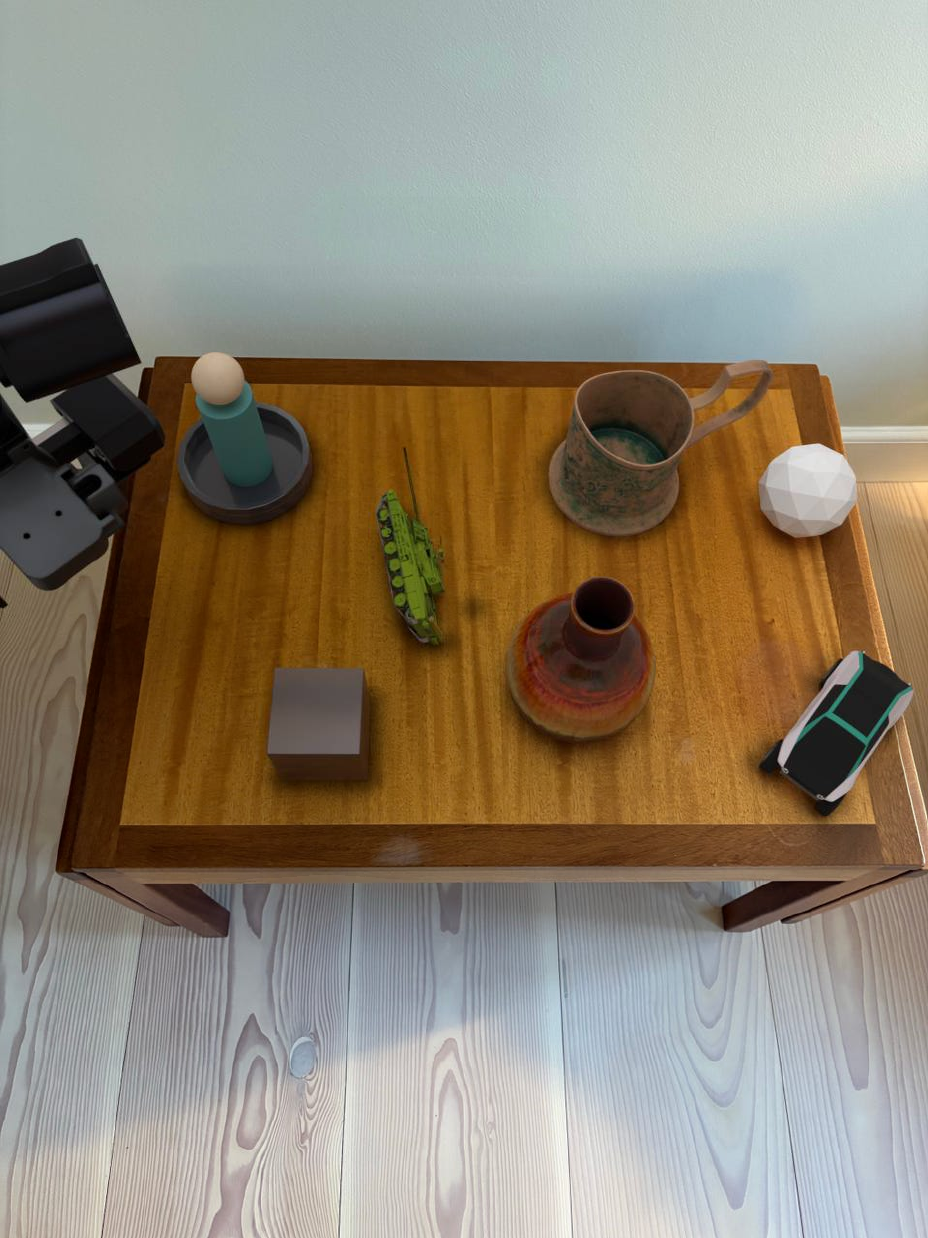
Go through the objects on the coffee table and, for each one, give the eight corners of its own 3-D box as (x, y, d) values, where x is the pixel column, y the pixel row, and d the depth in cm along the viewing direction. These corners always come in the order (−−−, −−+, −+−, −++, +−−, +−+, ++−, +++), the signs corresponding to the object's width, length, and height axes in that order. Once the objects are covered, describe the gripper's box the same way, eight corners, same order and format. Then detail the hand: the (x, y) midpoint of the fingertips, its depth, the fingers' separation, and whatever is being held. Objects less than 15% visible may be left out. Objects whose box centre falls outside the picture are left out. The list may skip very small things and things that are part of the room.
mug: (761, 500, 79) (812, 414, 68) (575, 551, 76) (597, 470, 65) (707, 400, 84) (747, 304, 73) (530, 444, 81) (544, 352, 70)
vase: (655, 745, 69) (710, 672, 55) (515, 766, 68) (534, 696, 54) (623, 617, 74) (665, 519, 60) (491, 635, 73) (503, 539, 59)
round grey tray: (308, 525, 77) (304, 510, 75) (177, 524, 77) (169, 508, 74) (316, 420, 82) (313, 402, 79) (193, 418, 81) (186, 400, 79)
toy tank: (370, 633, 67) (499, 598, 66) (334, 431, 75) (449, 398, 74) (394, 665, 73) (512, 633, 72) (359, 476, 81) (465, 446, 80)
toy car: (898, 707, 71) (931, 683, 66) (819, 821, 67) (848, 805, 62) (833, 662, 72) (862, 635, 68) (753, 771, 68) (777, 751, 64)
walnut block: (367, 781, 67) (359, 754, 61) (282, 780, 67) (265, 754, 61) (371, 701, 70) (364, 667, 64) (289, 700, 70) (274, 667, 64)
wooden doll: (283, 466, 79) (254, 361, 66) (244, 496, 77) (207, 394, 65) (251, 437, 80) (216, 329, 68) (212, 465, 78) (170, 360, 66)
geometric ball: (763, 551, 73) (728, 494, 79) (844, 560, 76) (805, 504, 81) (809, 475, 69) (768, 420, 74) (895, 487, 71) (849, 432, 76)
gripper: (-141, 630, 41) (9, 734, 55) (186, 402, 47) (245, 549, 61) (-258, 484, 44) (-88, 618, 58) (62, 287, 50) (146, 452, 64)
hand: (61, 559), depth 60 cm, fingers open, 9 cm apart
